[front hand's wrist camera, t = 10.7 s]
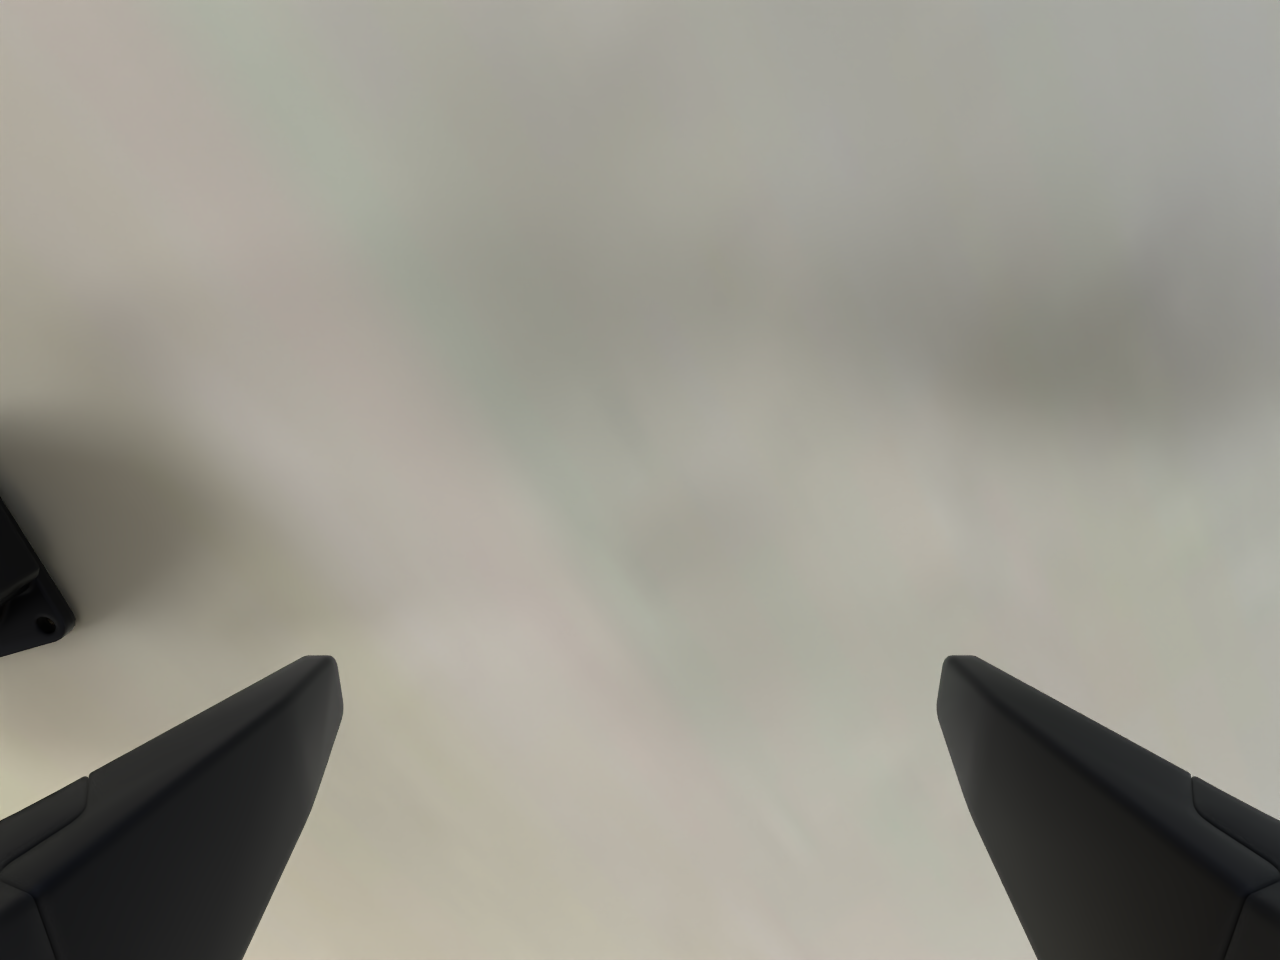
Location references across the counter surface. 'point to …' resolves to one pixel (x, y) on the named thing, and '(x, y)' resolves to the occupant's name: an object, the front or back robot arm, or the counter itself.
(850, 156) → the counter surface
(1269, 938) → the front robot arm
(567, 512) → the counter surface
